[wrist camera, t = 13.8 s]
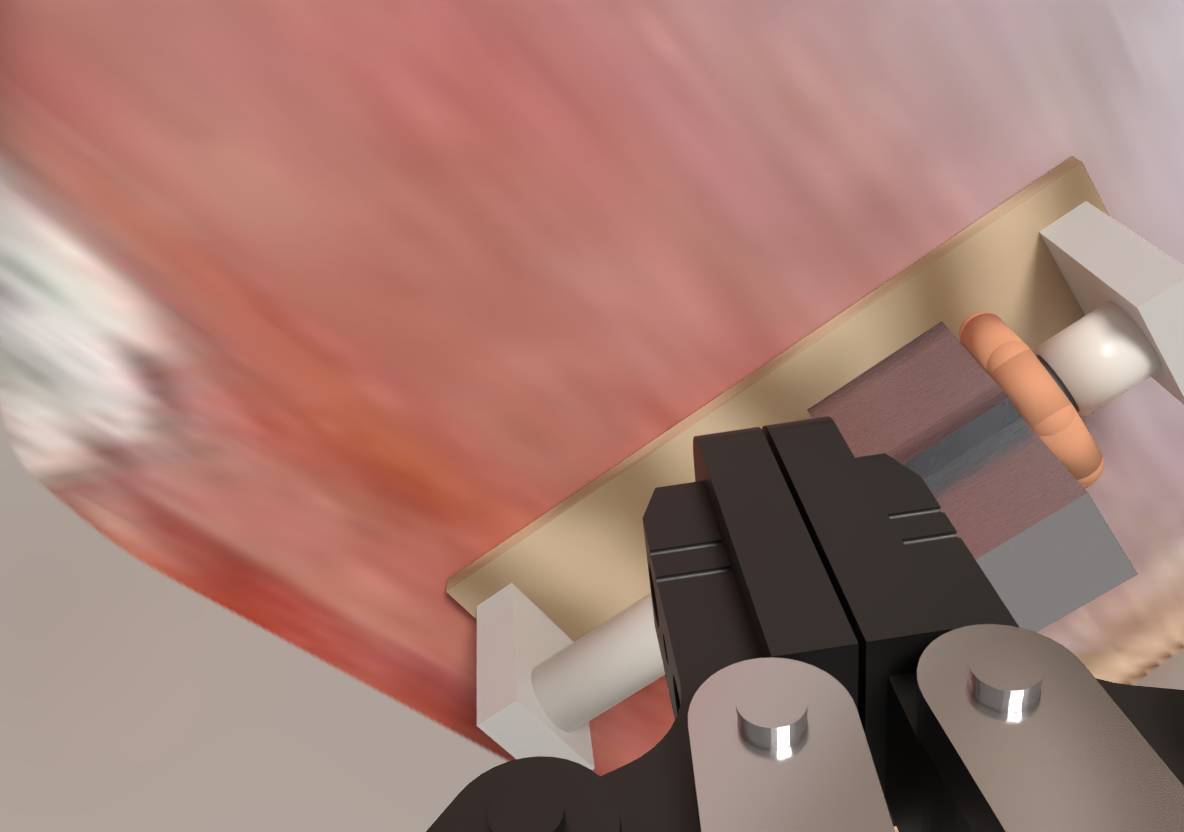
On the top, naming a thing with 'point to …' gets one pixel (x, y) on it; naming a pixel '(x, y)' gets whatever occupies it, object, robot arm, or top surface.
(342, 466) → the top surface
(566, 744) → the rod
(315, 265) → the top surface
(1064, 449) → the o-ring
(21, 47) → the top surface
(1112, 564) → the grooved slider block
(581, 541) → the base board
